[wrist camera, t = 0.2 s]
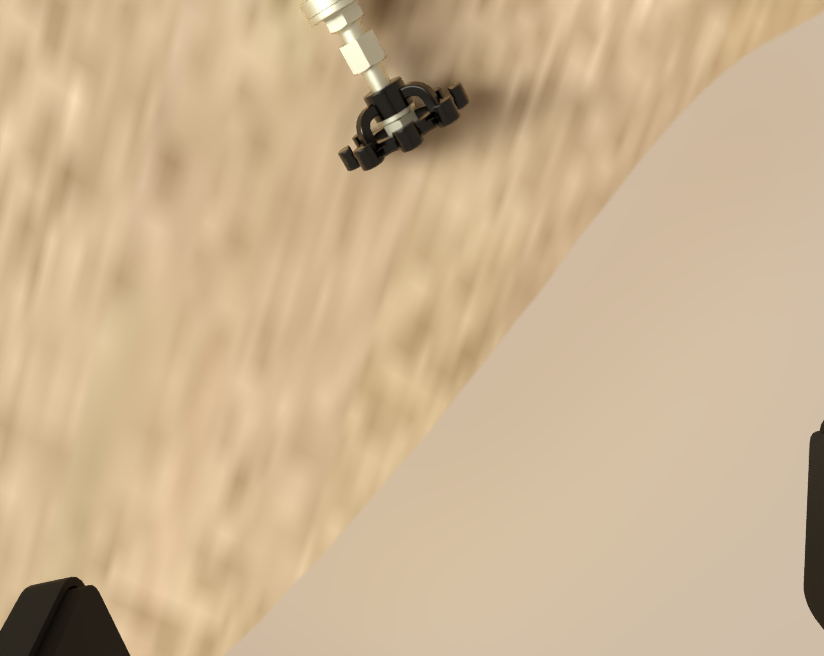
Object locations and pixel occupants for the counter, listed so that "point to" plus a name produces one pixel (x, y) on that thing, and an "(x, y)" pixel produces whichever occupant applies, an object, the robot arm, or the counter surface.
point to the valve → (382, 90)
